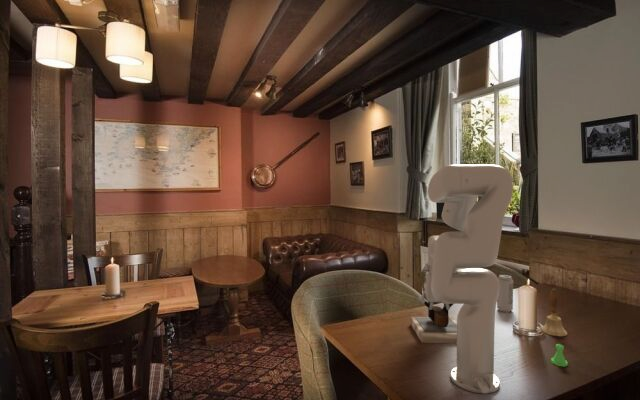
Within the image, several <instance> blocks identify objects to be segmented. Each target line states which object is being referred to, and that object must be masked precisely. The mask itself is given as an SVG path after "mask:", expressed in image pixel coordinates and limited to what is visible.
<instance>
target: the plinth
mask: <svg viewBox="0 0 640 400" xmlns="http://www.w3.org/2000/svg"><path fill="white" fill-rule="evenodd" d="M448 319H449V323H448V325H447V327H438V326H437V325H436V324H435V323H434V322H433V321H432V320H431V319H430V318H429V317H428V316H411V317H410V325H411V327H412V329H413V330H414V331H415V334H416V335H417V337H418V338H419V341H421V343H422V344H423V343H424V344H434V343H435V344H438V343H440V344H445V343H446V344H447V343H449V344H450V343H452V344H455V343H456V344H457V319H455V318H454V317H453V316H449V318H448Z"/></svg>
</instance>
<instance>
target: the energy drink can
mask: <svg viewBox="0 0 640 400" xmlns="http://www.w3.org/2000/svg"><path fill="white" fill-rule="evenodd" d="M497 278H498V280H499V295H498V299H497V303H496V309H498V311H499V310H500V311H499V312H501V311H503V312H502V313H505V312H510V311H511V312H512V311H513V309H514V308H513V307H514V306H513V305H514V279H513V278H512V275H507V274H499V275H498V277H497ZM511 312H510V313H511Z"/></svg>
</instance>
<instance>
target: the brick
mask: <svg viewBox="0 0 640 400" xmlns="http://www.w3.org/2000/svg"><path fill="white" fill-rule="evenodd" d="M433 310H434V320H433V322H434V323H435V324H436V325H437V326H438V327H447V325H448V323H449V319H448V318H449V317H450V316H449V313H448V314H447V313H446V312H445V311H444V310H443V307H440V306H438V305H433Z"/></svg>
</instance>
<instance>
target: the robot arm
mask: <svg viewBox="0 0 640 400" xmlns="http://www.w3.org/2000/svg"><path fill="white" fill-rule="evenodd" d="M513 192H514V181H513V176H512V174H511V172H510V170H508V168H506V167H504V166H501V165H497V164H487V163H485V164H484V163H481V164H478V163H477V164H448V165H443V166H442V167H441V168H440V169H439V170H437V171H436V172H435V173H434V174H433V175H432V177H431V178H430V180H429V183H428V186H427V195H428V199H429V200H430V201H431V202H433V203H435V204H436V203H444V205H443V208H442V212H441V220H442V221H443V222H444V223H445V224H446V225H447V226H449V227H450V228H453V229H456V230H457V231H446V232H442V233H440V234H439V235H431V236H429V237H428V239H427V240H428V241H427V247H428V248H427V265H426V266H424V267H423V270H424V271H426V273H425V276H424V282H423V292H422V293H421V295H420V296H419V298H418V301H419V303H421V304H423V305H425V307H427V308H428V309H427V314H428V315H427V317H429V318H430V319H431V320H432V321H433V320H434V310H433V306H434V303H436V304H437V303H441V304H443V306H442V309H443V310H444V311H445V312H446V313H447V314H448V315H449V311H450V309H451V307H452V306H454V305H456V304H457V305H458V304H459V305H461V304H462V306H461V307H460V309H459V311H458V314H457V318H456V322H457V343H456V365H455V366H456V367H453V368H452V369H451V371H450V379H451V380H452V382H453V383H454V384H455V385H456V386H457V387H458V388H459V387H460V388H462V389H463V390H465V391H468V392H472V393H476V394H490V393H491V394H492V393H494V392H496V391H498V390H499V389H500V386H501V381H500V379H499V377H498V376H496V375H495V373H494V370H495V365H494V364H495V363H494V362H495V328H496V327H495V320H496V319H495V318H496V309H497V299H498V295H499V280H498V278H499V277H498V276H497V274H496V273H494V272H493V271H491V270H490V269H487V268H488V267H492V266H493V265H495V263H496V262H497V259H498V256H499V250H500V244H501V237H502V230H503V224H504V219H505V216H506V213H507V210H508V208H509V205H510V204H511V200H512V198H513V194H514V193H513ZM478 197H481V198H480V199H479V200H478V201H477V199H478Z"/></svg>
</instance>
